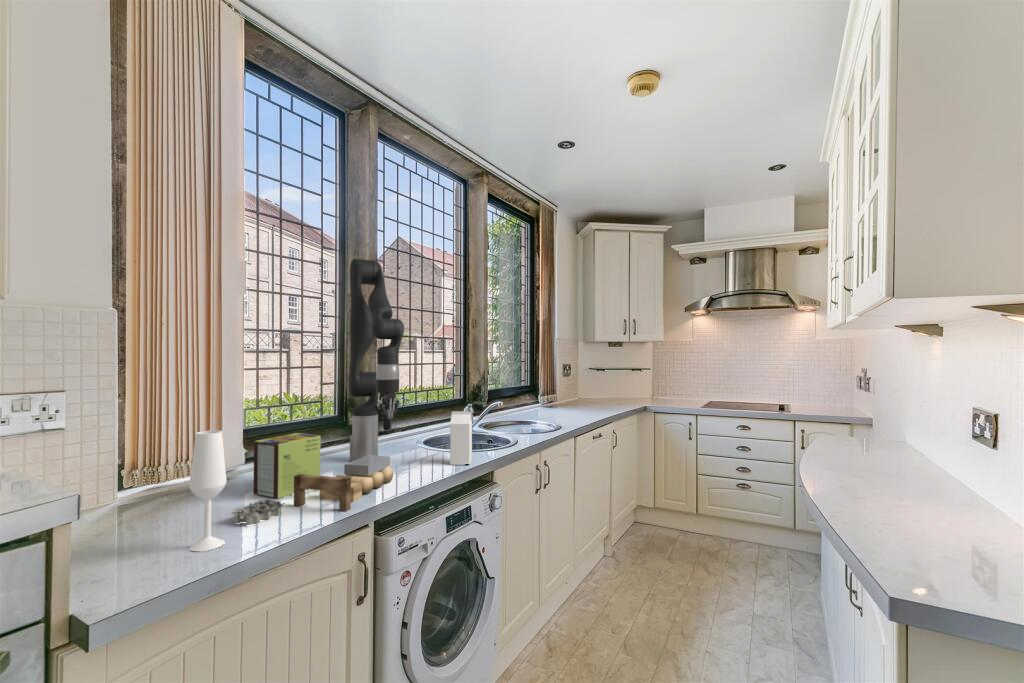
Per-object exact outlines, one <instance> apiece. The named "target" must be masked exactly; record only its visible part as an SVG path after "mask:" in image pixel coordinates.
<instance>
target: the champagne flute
mask: <svg viewBox="0 0 1024 683" xmlns="http://www.w3.org/2000/svg"><path fill="white" fill-rule="evenodd" d="M193 443H194V445H193V452H192V460H191V461H192V462H191V471H190V477H189V486H188V487H189V489H190V491H191V493H192V494H193V495H195V496H197V497H198V498H199V499H201V500H203V501H204V522H203V523H204V525H203V526H204V531H203V532H204V534H203V536H204V537H202V538H200V540H197V542H195V543H194V544H192V545H190V546H189V547H190V549H191V550H193V551H206V552H208V551H207V550H211V549H214V550H216V549H215V548H217V549H219V548H218V547H220V548H221V546H222V545H223V544H225V545H226V543H225V542H226V541H225V540H223V539H220V538H218V537H215V536H212V535H211V534H212V500H213V499H214V498H215V497H217V496H218V495H219V494H220V493H221V492H222V491H223V490H224V488H225V486H226V485H227V472H226V460H225V451H224V450H225V449H224V441H223V431H222V430H217V429H214V430H202V431H198V432H195V437H194V442H193ZM223 546H224V545H223ZM223 546H222V547H223ZM211 551H212V550H211Z"/></svg>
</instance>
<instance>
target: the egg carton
mask: <svg viewBox="0 0 1024 683" xmlns="http://www.w3.org/2000/svg"><path fill="white" fill-rule="evenodd" d="M284 505H286V503H285V502H283V503H281V501H280V500H277V501H276V500H274V499H273V498H271V499H268V497H265V496H263V498H261V499H259V500H257V501H255V502H253V503H252V502H250V503H249V504H247V505H244V506H242V507H236V508H234V509H233V510H232V511H231V513H230V515H232V516H233V515H234V524H235V523H240V522H246V524H245V526H246V525H251V524H258V523H260V524H261V522H260V520H266V521H270V520H271V519H270V518H272V517H271V516H273V517H279V516H281V515H282V508H284ZM278 515H279V516H278ZM269 519H270V520H269ZM258 525H259V524H258Z"/></svg>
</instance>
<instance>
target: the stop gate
mask: <svg viewBox="0 0 1024 683" xmlns="http://www.w3.org/2000/svg"><path fill="white" fill-rule="evenodd" d="M305 489H308V490H314V491H315V490H316V491H320V490H325V491H337V492H340V497H339V501H338V502H339V504H338V505H339V509H338V511H340V512H348V511H350V510H351V509H352V507H351V506H352V505H351V504H352V502H351V478H341V477H336V476H328V475H320V476H316V475H303V474H298V475H296V476H294V494H293V507H295V506H301V507H303V506H305V505H306V490H305ZM304 504H305V505H304ZM302 505H303V506H302Z"/></svg>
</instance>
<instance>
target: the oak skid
mask: <svg viewBox="0 0 1024 683" xmlns="http://www.w3.org/2000/svg"><path fill="white" fill-rule="evenodd" d="M362 494H363V493H362V483H351V503H355V502H356V500H357V501H358V500H360V499H362V497H363V495H362ZM339 497H340V492H337V491H325V490H319V499H320V500H326V499H328V500H329V499H330V501H337V500H339ZM328 500H327V501H328ZM354 501H355V502H354Z"/></svg>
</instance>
